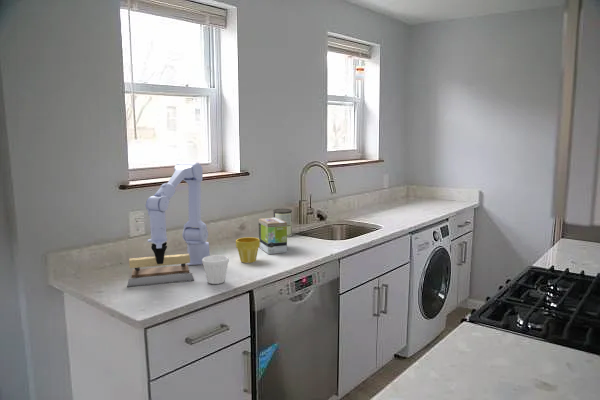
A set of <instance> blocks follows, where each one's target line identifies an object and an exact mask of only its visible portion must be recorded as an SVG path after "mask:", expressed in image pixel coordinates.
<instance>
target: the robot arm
mask: <svg viewBox="0 0 600 400" xmlns="http://www.w3.org/2000/svg"><path fill="white" fill-rule="evenodd" d="M173 171H174V172H173V174H172V175H171V177H170V179H169V180H168V181H167V182H164V183H162V184H161V185H160V186H159V188H158V190H156V192H155V193H154V194H153V195H152V196H151V195H150V196H149V197H148V198H147V199H146V203H145V209H146V210H147V215H148V216H149V226H150V238H149V239H147V243H151V248H150V249H151V250H152V252H153V254H154V256H155V258H156V262H157V264H163V261H164V256H165V255H166V254H165V253H166V250H167V247H168V246H167V245H168V243H167V242H168V237H167V220H166V211H168V208H169V204H170V202H171V201H170V200H171V199H172V198H173V197H174V195H175V193H176V188H177V187H178V186H179V184H180V183H182V181H184V182H185V183H186V184H187V185H188V221H186V223H184V224H183V230H182V239H183V241H185V244H187V245H186V246H187V247H186V248H187V251H186V252H187V254H189V255H190V263H186V265H188V266H197V265H203V263H202V259H203V258H204V257H207V256H211V254H210V244H209V243H210V242H209V241H207V240H208V238H209V231H208V225H207V224H206V223H205V222H204V221H202V182H203V178H204V177H203V174H204V173H203V171H204V170H203V166H202V165H201V163H200V162H182V161H181V162H177V163H176V165H175V166H174V169H173Z"/></svg>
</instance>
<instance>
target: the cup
mask: <svg viewBox="0 0 600 400" xmlns="http://www.w3.org/2000/svg"><path fill="white" fill-rule="evenodd" d="M229 259H230V258H229V257H228V256H227V255H223V254H215V255H214V254H213V255H210V256H207V257H204V258H203V259H202V263H203V264H202V265H203V268H204V272H205V276H206V279H207V283H208V284H209V285H221V284H223V283H224V282H225V280H226V276H227V270H228V266H229Z"/></svg>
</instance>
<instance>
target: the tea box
mask: <svg viewBox="0 0 600 400" xmlns="http://www.w3.org/2000/svg"><path fill="white" fill-rule="evenodd" d="M258 239H259V240H260V247H259V248H260V249H261V250H262V251H264V252H265V253H266V254H268V255H271V254H272V255H274V254H282V253H283V254H284V253H288V237H287V222H285V221H283V220H281V219H279V218H274V217H267V218H266V217H264V218H263V217H262V218H258Z"/></svg>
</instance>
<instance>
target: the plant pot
mask: <svg viewBox="0 0 600 400" xmlns="http://www.w3.org/2000/svg"><path fill="white" fill-rule="evenodd" d="M235 247H236V249H237V252H238V256H239V259H240V262H241V263H243V264H251V263H252V264H253V263H256V260H257V257H258V256H257V255H258V252H259V251H258V250H259V248H260V240H259V237H251V236H250V237H249V236H248V237H247V236H246V237H240V238H237V239H236V240H235Z"/></svg>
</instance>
